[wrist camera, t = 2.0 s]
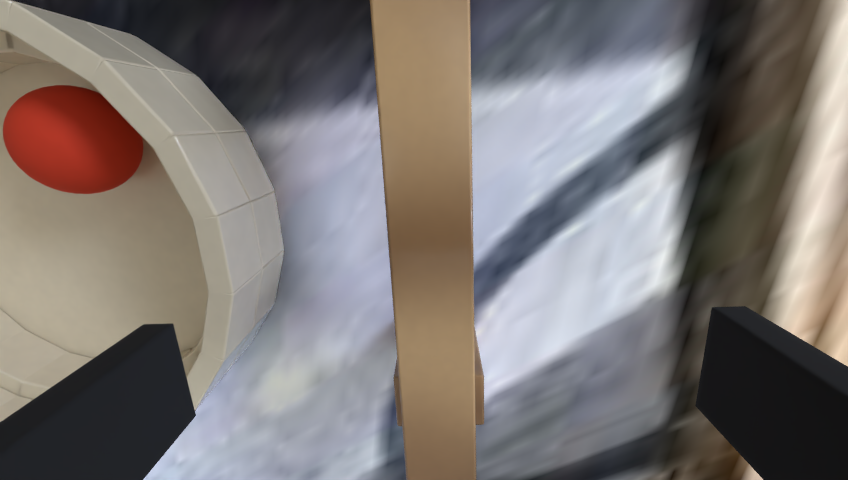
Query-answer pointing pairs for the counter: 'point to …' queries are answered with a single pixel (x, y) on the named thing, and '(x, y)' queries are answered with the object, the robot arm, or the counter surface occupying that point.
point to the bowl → (130, 218)
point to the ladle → (430, 229)
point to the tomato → (71, 140)
